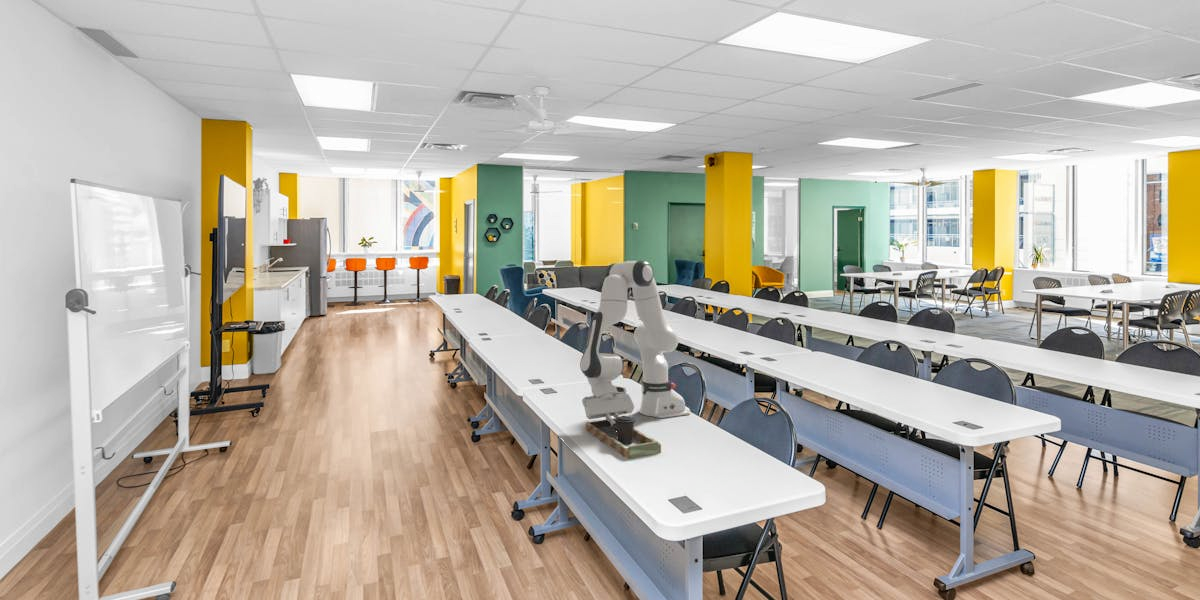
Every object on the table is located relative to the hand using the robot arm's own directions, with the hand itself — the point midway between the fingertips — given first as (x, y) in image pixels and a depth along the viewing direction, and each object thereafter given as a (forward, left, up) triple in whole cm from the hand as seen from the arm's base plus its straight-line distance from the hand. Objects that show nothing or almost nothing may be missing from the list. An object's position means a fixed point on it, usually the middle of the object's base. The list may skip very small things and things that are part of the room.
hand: (615, 424), depth 248 cm
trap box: (-1, +5, -5) cm, 7 cm away
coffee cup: (-2, +8, -5) cm, 9 cm away
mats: (+1, -5, -5) cm, 7 cm away
